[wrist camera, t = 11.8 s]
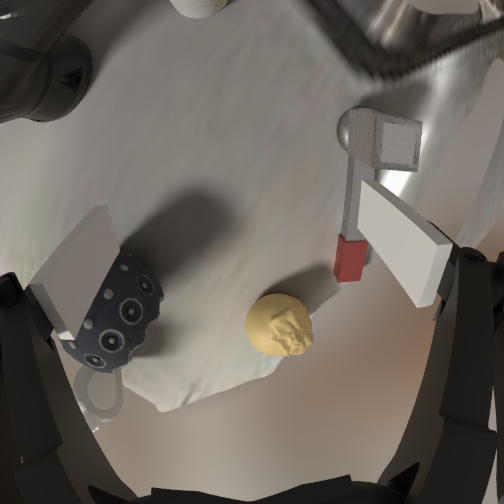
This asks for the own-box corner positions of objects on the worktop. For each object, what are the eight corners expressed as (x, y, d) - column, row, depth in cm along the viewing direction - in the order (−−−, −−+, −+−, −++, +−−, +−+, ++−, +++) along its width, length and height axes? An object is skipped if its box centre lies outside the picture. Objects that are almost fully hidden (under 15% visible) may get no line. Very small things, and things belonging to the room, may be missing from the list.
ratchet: (337, 104, 37) (358, 107, 30) (383, 110, 37) (410, 115, 30) (324, 273, 52) (336, 301, 45) (363, 270, 52) (378, 296, 45)
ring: (82, 287, 51) (41, 359, 34) (133, 225, 45) (84, 301, 28) (121, 317, 55) (93, 394, 38) (179, 265, 49) (155, 352, 32)
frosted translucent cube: (348, 109, 35) (377, 114, 27) (388, 114, 35) (422, 121, 27) (346, 153, 38) (373, 168, 30) (385, 156, 38) (417, 172, 30)
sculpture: (313, 313, 57) (326, 352, 48) (262, 335, 60) (267, 376, 50) (290, 274, 52) (301, 314, 42) (234, 301, 54) (234, 343, 45)
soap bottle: (83, 345, 60) (52, 424, 39) (95, 333, 58) (62, 419, 37) (123, 371, 65) (103, 451, 44) (137, 362, 63) (117, 448, 42)
